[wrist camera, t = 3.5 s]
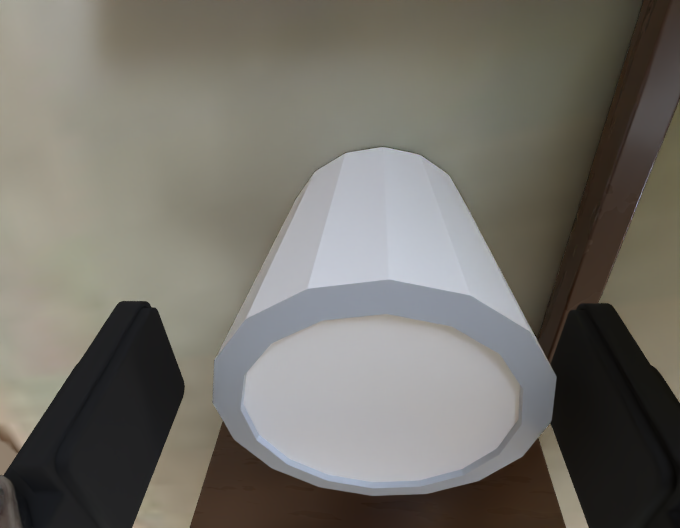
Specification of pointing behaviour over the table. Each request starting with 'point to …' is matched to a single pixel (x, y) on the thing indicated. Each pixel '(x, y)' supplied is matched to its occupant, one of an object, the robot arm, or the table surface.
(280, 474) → the brown block with crank
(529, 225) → the table surface
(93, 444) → the robot arm
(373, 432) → the white cup
